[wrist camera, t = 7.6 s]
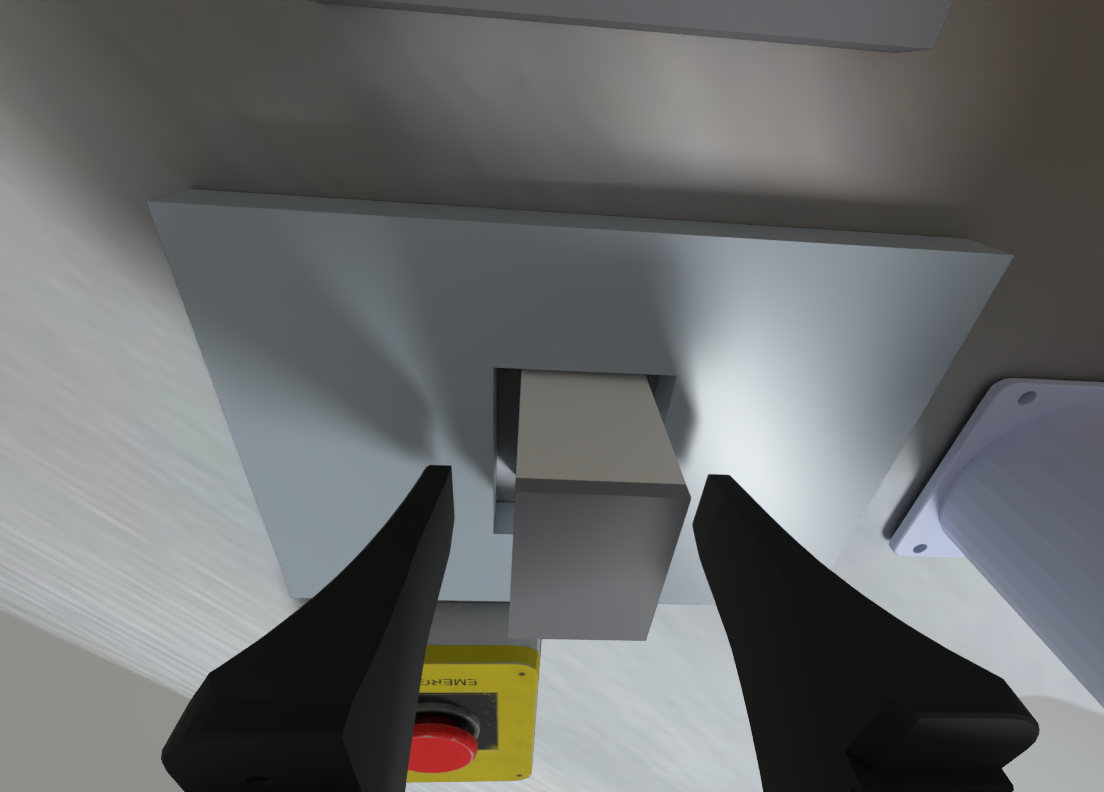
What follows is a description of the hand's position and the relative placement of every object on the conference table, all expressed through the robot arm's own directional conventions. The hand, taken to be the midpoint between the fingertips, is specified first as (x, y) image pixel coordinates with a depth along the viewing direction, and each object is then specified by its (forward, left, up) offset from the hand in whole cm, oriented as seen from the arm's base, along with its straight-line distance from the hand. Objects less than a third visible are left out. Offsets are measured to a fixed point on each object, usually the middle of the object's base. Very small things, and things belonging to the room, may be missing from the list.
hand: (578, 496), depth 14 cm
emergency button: (+5, +15, -4) cm, 16 cm away
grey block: (0, 0, -3) cm, 3 cm away
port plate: (0, 0, -3) cm, 3 cm away
